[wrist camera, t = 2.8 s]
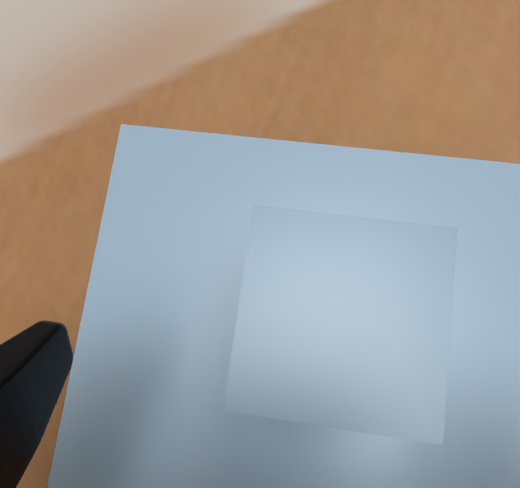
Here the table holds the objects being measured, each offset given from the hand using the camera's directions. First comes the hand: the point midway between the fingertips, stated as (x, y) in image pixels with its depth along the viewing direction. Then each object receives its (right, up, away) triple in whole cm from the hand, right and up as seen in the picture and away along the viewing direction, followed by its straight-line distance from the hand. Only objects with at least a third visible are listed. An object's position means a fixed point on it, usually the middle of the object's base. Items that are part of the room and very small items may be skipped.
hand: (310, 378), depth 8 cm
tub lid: (+1, 0, +6) cm, 6 cm away
